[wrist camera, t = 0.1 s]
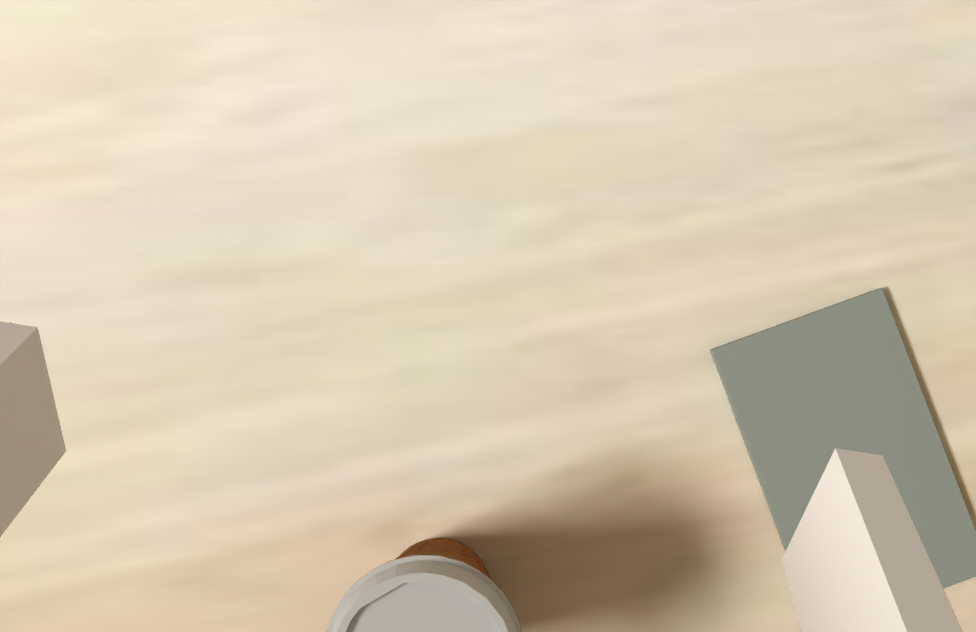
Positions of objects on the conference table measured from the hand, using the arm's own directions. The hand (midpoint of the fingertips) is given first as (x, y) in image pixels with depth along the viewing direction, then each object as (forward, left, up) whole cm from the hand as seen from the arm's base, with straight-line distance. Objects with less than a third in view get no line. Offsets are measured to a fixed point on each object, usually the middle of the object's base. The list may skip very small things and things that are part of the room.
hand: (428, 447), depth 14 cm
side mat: (-12, -20, -36) cm, 43 cm away
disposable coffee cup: (-11, +6, -36) cm, 38 cm away
